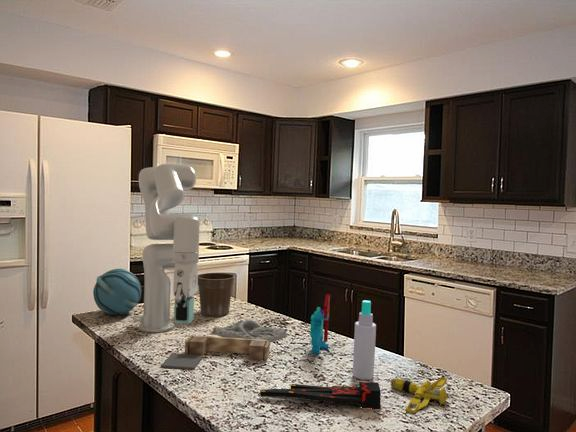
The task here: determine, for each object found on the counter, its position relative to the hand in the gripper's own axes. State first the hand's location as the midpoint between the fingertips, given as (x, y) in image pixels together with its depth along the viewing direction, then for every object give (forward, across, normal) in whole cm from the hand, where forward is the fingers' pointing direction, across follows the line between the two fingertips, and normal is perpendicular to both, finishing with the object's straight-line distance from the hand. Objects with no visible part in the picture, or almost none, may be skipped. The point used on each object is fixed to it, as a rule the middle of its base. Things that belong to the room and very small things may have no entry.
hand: (184, 317), depth 134 cm
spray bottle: (+14, -1, -54) cm, 56 cm away
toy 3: (+15, -18, -41) cm, 47 cm away
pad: (+14, 0, 0) cm, 14 cm away
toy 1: (+14, +45, +42) cm, 63 cm away
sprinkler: (+15, -12, -67) cm, 69 cm away
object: (+14, +56, +4) cm, 58 cm away
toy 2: (+14, +18, -41) cm, 47 cm away
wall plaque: (+14, +31, -15) cm, 38 cm away
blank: (+1, 0, 0) cm, 1 cm away
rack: (+14, +8, -12) cm, 20 cm away
